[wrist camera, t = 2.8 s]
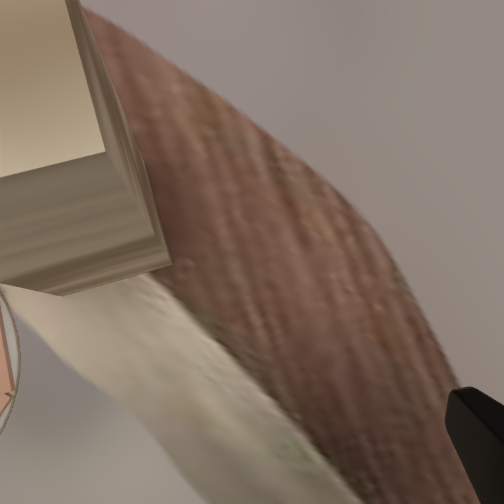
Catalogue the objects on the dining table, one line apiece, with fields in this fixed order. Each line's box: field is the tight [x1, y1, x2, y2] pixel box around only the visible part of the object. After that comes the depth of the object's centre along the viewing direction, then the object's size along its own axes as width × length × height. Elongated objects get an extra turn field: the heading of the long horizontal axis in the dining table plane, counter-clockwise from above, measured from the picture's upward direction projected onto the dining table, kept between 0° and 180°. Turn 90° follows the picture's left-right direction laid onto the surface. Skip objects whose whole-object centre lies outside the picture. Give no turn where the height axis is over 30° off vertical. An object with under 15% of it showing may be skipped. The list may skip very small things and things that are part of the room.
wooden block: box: [0, 0, 173, 296], centre depth 15 cm, size 5×5×14 cm
